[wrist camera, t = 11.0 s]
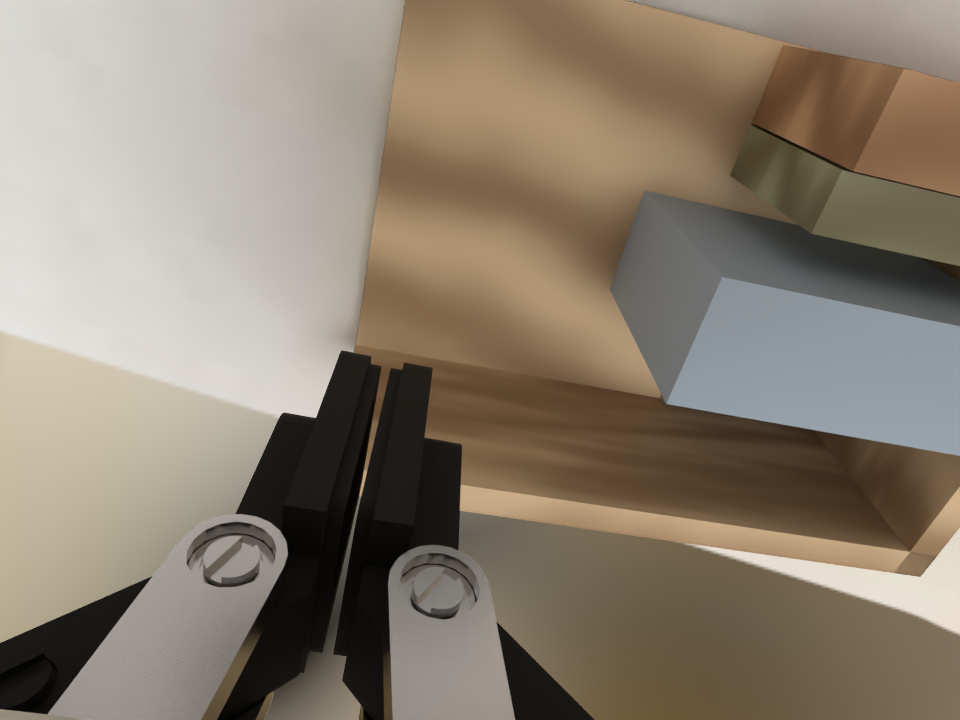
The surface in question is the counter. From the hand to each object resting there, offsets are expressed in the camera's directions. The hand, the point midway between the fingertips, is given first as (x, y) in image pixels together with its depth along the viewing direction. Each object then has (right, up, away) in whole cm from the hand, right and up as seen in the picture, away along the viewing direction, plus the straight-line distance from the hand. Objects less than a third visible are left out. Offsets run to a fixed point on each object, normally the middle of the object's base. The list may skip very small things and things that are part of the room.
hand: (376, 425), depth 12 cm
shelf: (+9, +7, +17) cm, 21 cm away
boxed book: (+14, +5, +16) cm, 22 cm away
